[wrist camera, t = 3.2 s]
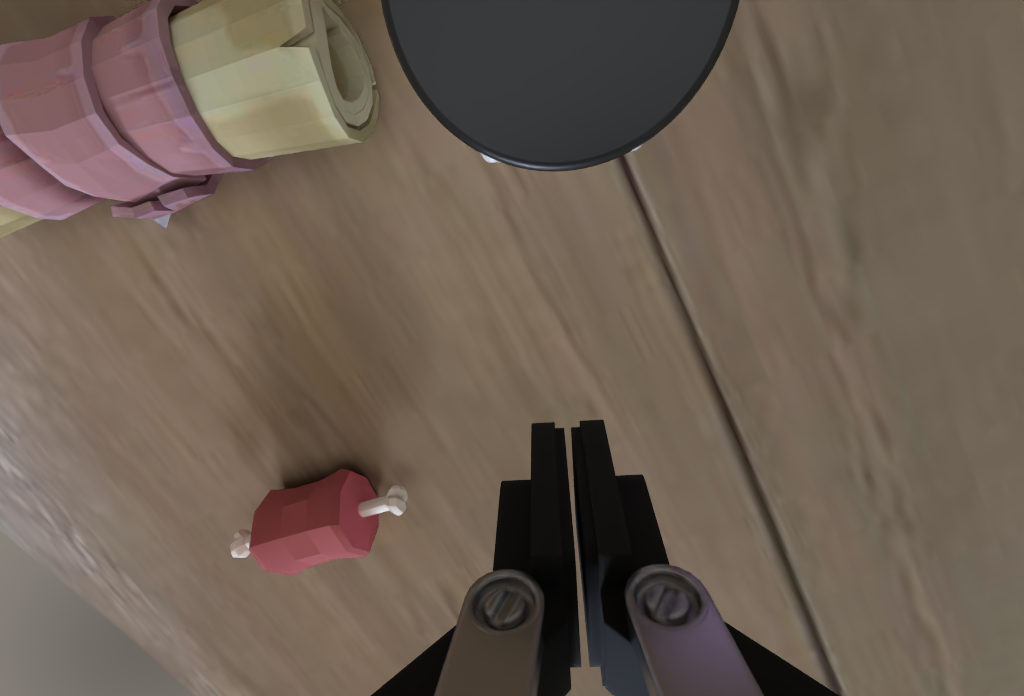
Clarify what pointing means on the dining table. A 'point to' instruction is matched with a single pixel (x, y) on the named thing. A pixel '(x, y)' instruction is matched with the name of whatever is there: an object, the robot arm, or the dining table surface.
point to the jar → (557, 71)
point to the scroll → (174, 103)
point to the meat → (316, 523)
